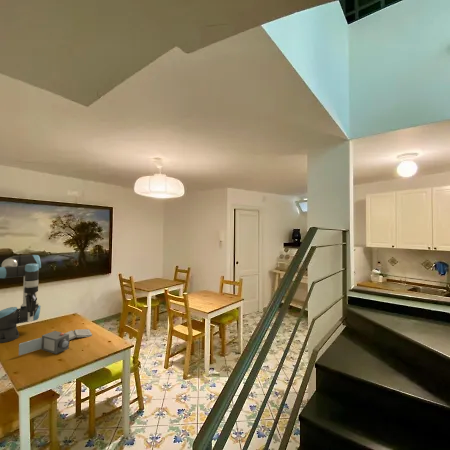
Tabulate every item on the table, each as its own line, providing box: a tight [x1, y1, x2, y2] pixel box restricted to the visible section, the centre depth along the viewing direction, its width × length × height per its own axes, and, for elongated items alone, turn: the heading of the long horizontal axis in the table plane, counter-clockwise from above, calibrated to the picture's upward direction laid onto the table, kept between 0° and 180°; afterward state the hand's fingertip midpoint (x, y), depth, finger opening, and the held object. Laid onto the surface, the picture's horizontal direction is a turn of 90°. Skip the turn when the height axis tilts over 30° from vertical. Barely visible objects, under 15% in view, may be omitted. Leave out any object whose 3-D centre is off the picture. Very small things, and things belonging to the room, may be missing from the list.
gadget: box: [64, 328, 93, 341], centre depth 199 cm, size 23×15×4 cm, turn 128°
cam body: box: [41, 330, 70, 355], centre depth 177 cm, size 19×9×11 cm, turn 66°
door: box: [18, 336, 43, 356], centre depth 171 cm, size 13×2×8 cm, turn 142°
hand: (30, 320), depth 170 cm, fingers closed
